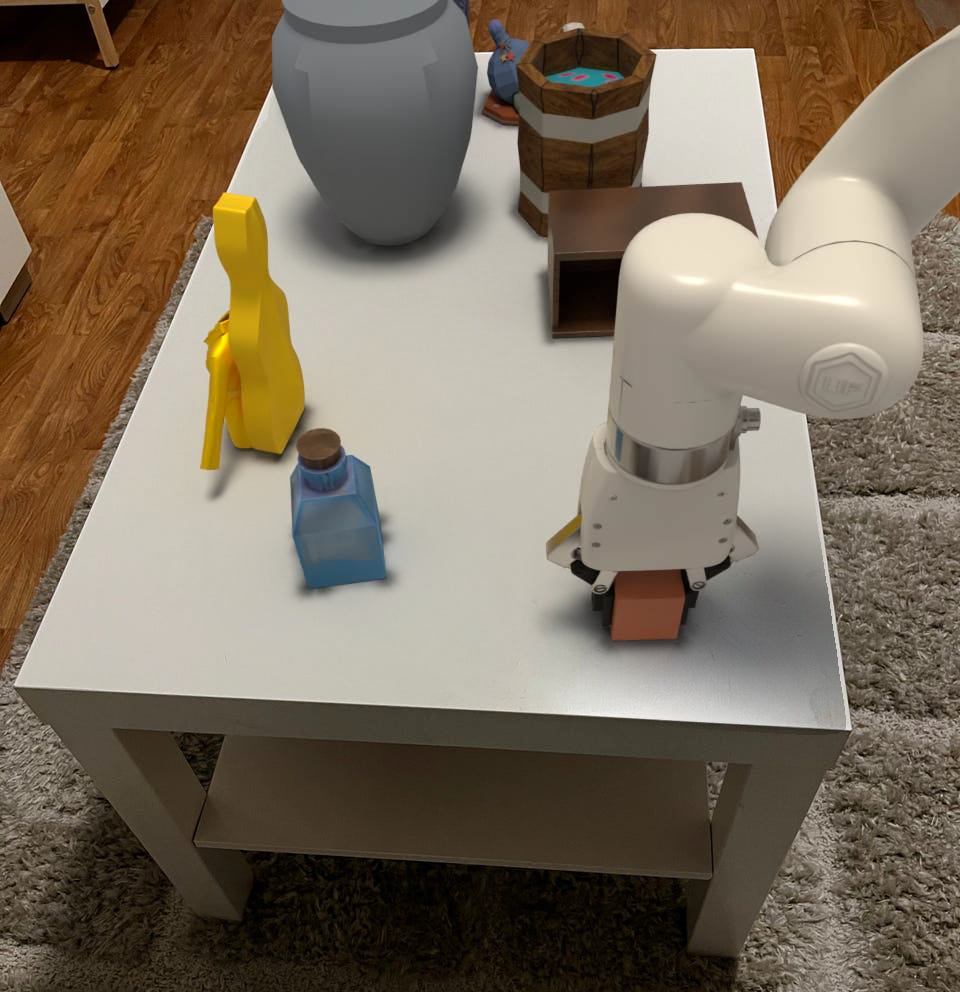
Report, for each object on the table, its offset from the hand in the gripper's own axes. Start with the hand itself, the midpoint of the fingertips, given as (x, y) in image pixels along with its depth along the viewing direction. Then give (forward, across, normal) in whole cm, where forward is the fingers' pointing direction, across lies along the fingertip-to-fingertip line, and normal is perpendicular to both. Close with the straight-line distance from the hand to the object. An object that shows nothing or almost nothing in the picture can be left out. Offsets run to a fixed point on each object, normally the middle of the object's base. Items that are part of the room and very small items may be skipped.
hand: (641, 609), depth 73 cm
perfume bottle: (+1, +23, -7) cm, 24 cm away
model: (+1, +5, -77) cm, 77 cm away
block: (+1, 0, 0) cm, 1 cm away
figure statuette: (+1, +31, -22) cm, 38 cm away
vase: (+1, +21, -53) cm, 57 cm away
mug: (+1, +1, -58) cm, 58 cm away
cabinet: (+1, -4, -38) cm, 38 cm away
